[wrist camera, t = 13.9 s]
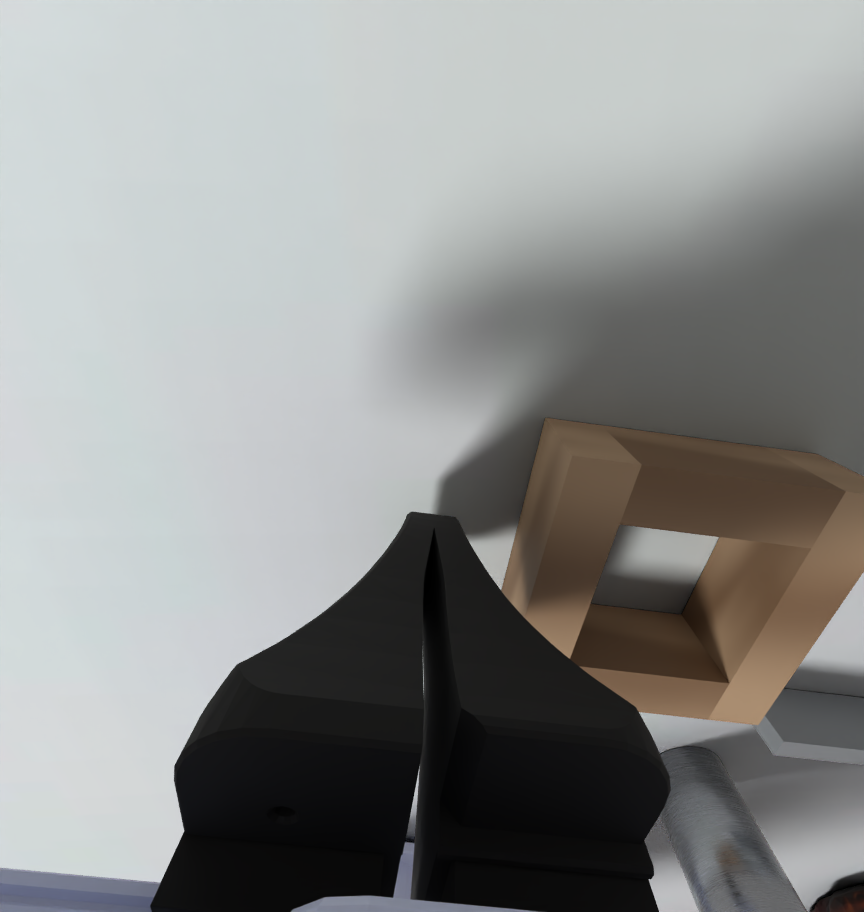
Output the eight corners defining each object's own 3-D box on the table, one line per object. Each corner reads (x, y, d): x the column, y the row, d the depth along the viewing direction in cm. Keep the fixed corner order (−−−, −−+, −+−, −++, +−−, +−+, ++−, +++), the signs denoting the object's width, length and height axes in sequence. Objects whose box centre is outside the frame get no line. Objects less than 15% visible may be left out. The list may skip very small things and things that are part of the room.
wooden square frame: (707, 652, 14) (758, 725, 12) (491, 627, 14) (501, 696, 12) (817, 454, 11) (912, 499, 9) (545, 417, 11) (572, 456, 9)
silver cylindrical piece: (705, 801, 18) (854, 1099, 11) (624, 790, 18) (729, 1087, 11) (745, 748, 16) (941, 1056, 10) (656, 736, 16) (798, 1041, 10)
